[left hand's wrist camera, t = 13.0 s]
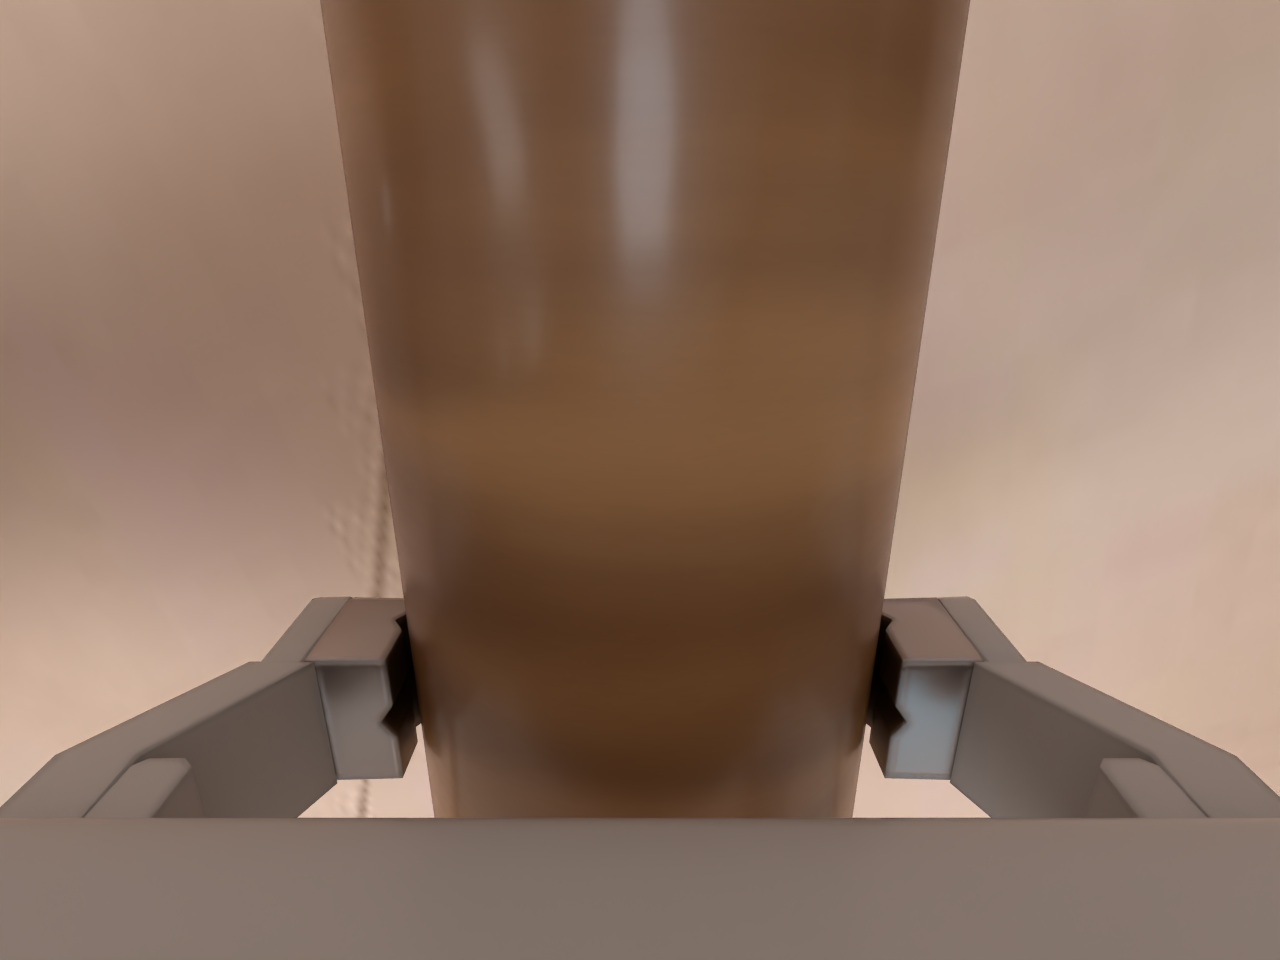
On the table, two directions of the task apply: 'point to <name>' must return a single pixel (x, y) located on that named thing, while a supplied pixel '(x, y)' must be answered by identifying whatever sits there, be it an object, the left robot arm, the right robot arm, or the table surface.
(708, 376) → the rod
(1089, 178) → the table surface
